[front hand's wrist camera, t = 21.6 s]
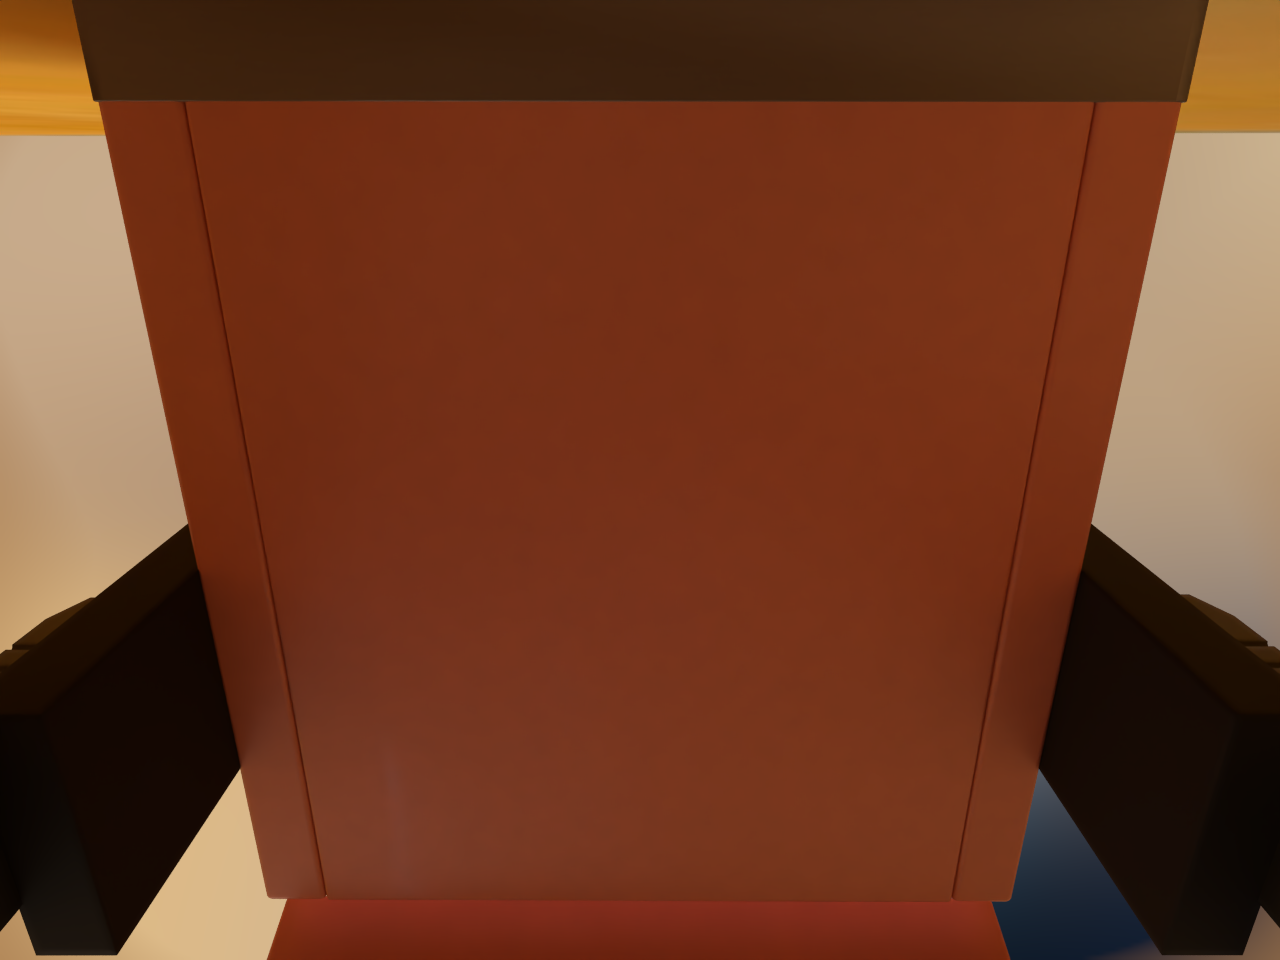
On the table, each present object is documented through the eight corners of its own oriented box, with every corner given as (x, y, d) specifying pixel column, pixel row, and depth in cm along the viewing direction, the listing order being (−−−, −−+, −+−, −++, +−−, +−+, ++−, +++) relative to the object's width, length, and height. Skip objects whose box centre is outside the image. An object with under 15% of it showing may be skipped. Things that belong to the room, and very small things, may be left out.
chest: (840, 103, 20) (809, 498, 24) (443, 103, 20) (473, 497, 24) (1213, -19, 7) (1013, 904, 11) (66, -20, 7) (264, 901, 11)
